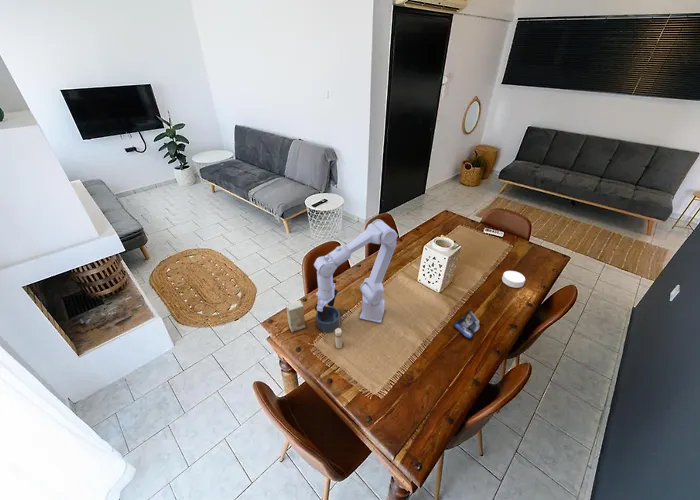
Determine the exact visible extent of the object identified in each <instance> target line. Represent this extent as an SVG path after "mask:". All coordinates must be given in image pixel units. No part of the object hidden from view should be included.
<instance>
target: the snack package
mask: <svg viewBox="0 0 700 500" xmlns="http://www.w3.org/2000/svg"><path fill="white" fill-rule="evenodd" d="M480 327H481V325H480V319H479V318H477V316H476V315H475V314H474V313H473V311H472V309H469V310H467V311H466V313H465V314H464V315H463V316H462V317H460V318H459V319H458V320H455V322H454V323H453V328H456V329H457V330H458V332H460V334H461V335H463V337H465V338H467V339H469V340H472V339H473V336H474V335H475V333H476V332H477V331H479V329H480Z"/></svg>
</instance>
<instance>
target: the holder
mask: <svg viewBox="0 0 700 500" xmlns="http://www.w3.org/2000/svg"><path fill="white" fill-rule="evenodd" d="M326 307H329V308H330V309H329V311H328V315H327V319H326V320H323V319H321V317H320V315H319V313H318V312H317V311H316V313H315V323H316V327H317V328H318V330H320V331H322V332H323V333H332V332H335V329H337V328H340V325H341V313H340V311H339V309H338V308H337V307H334V306H333V307H332V306H328V305H326Z"/></svg>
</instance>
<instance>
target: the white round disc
mask: <svg viewBox="0 0 700 500" xmlns="http://www.w3.org/2000/svg"><path fill="white" fill-rule="evenodd" d="M501 281H502V283H503V284H504V285H505V286H507V287H510V288H512V289H513V288H514V289H519V288H522V287H523V286H524V285H525V282H526V277H525V276H524V275H523V274H522V273H521V272H518V271H515V270H506V271H504V272H503V273H502V277H501Z"/></svg>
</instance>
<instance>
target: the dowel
mask: <svg viewBox="0 0 700 500" xmlns="http://www.w3.org/2000/svg"><path fill="white" fill-rule="evenodd" d="M334 336H335V337H334V340H335V347H336V349H341V348H343V330H342V328H341V327H338V328H337V329H335V331H334Z"/></svg>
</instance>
